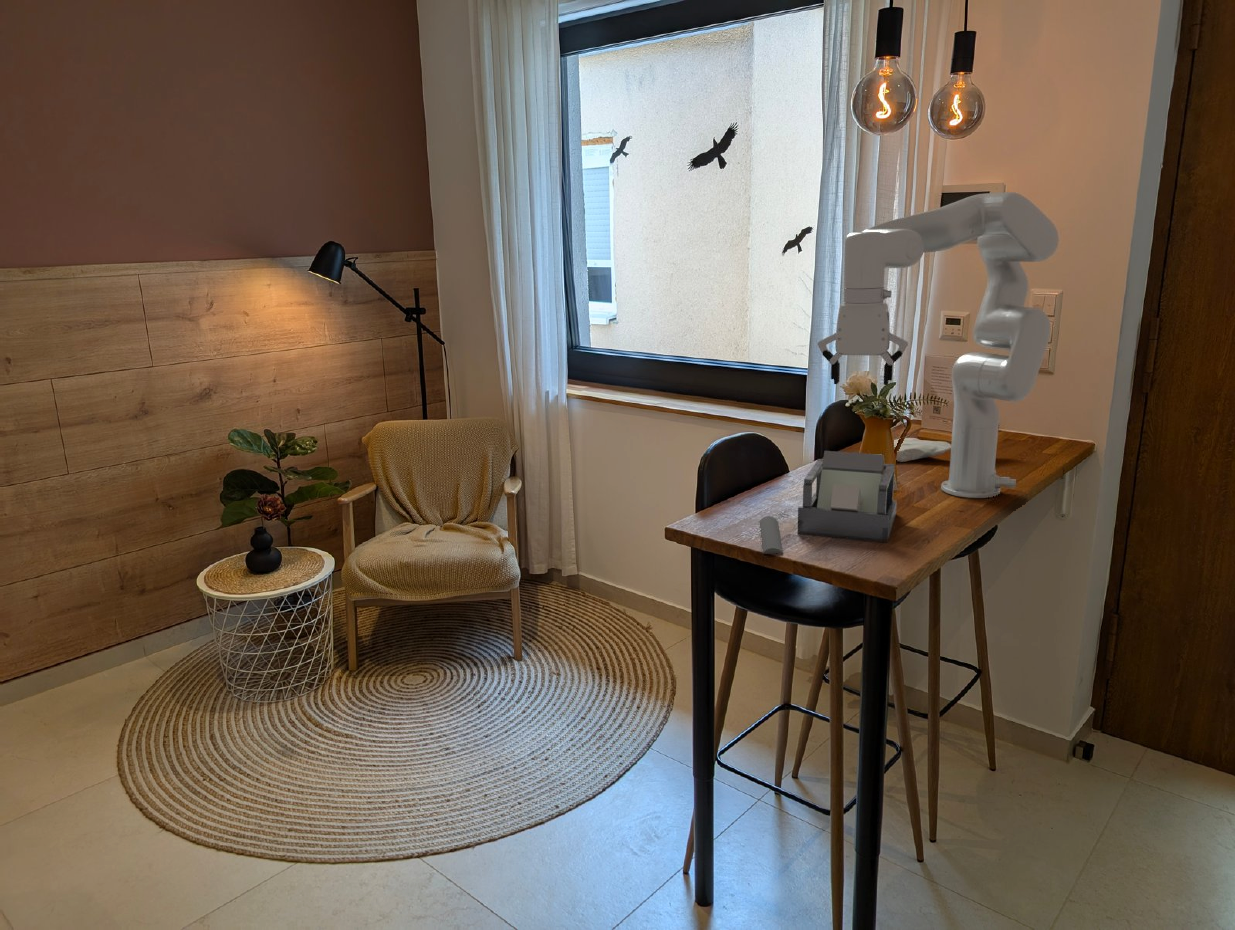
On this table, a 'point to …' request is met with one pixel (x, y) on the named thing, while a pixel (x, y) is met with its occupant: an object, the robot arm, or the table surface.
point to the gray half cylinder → (770, 536)
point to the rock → (920, 449)
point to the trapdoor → (851, 477)
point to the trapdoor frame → (848, 512)
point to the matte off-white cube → (846, 497)
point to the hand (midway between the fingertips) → (861, 383)
